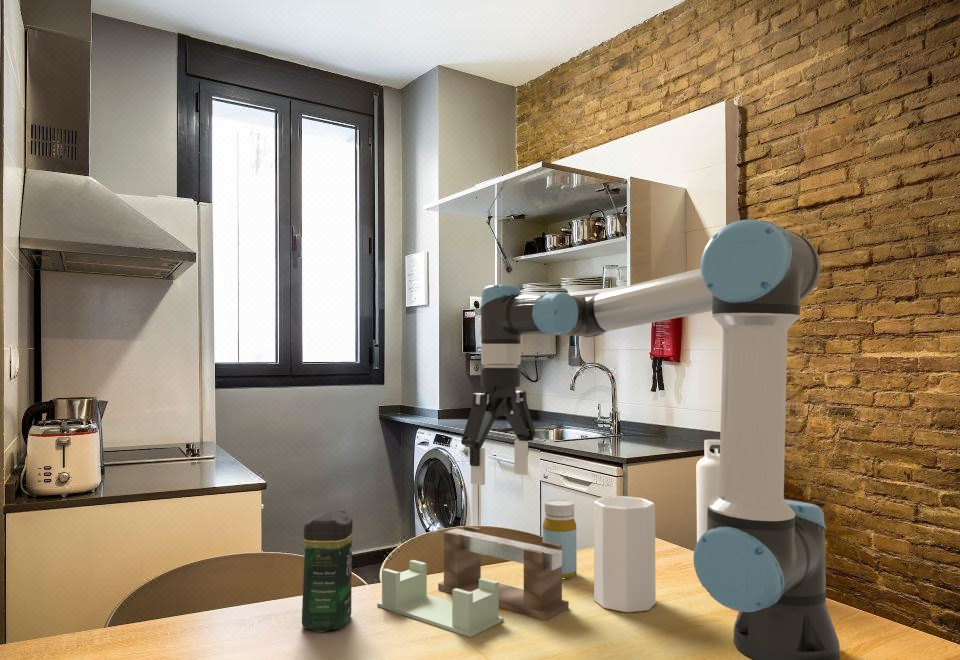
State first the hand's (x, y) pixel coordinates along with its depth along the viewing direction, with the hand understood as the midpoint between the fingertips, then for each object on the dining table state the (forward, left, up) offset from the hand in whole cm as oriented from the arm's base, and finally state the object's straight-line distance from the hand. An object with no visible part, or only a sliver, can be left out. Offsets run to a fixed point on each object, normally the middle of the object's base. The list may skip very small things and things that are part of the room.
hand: (500, 478), depth 130 cm
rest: (+4, +13, -22) cm, 26 cm away
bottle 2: (-27, -39, -23) cm, 53 cm away
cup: (-19, -13, -23) cm, 32 cm away
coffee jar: (+16, +28, -23) cm, 39 cm away
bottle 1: (-1, -19, -23) cm, 30 cm away
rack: (0, 0, -22) cm, 22 cm away
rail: (0, 0, -14) cm, 14 cm away
